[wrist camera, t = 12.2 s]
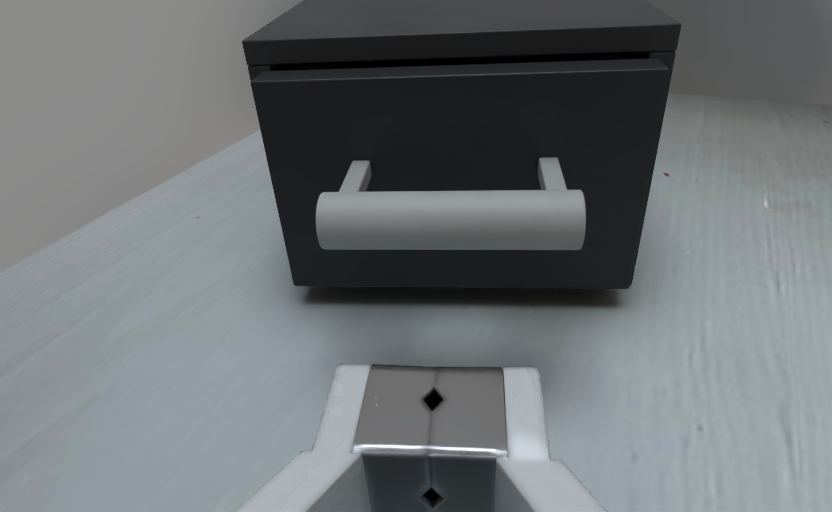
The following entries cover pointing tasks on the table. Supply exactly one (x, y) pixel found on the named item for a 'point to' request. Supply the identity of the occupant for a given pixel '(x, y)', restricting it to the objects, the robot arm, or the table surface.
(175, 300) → the table surface
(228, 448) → the table surface
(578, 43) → the box
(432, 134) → the drawer
